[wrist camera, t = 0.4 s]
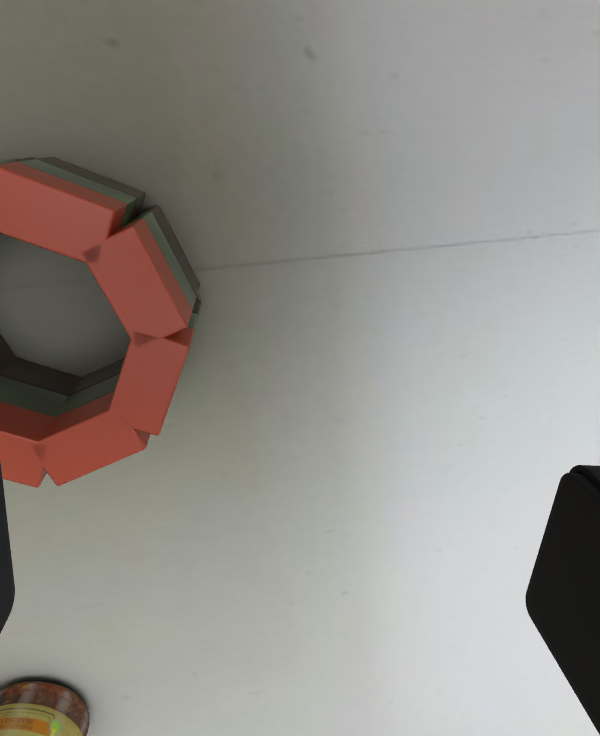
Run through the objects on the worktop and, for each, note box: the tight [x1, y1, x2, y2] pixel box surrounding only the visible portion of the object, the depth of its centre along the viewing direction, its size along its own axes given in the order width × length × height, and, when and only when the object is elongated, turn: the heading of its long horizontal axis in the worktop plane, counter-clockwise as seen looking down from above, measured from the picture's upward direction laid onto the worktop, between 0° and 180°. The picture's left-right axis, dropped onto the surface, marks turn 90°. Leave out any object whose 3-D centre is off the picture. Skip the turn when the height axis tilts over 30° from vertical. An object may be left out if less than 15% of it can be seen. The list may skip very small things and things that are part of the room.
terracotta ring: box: [0, 162, 194, 487], centre depth 21 cm, size 11×11×2 cm
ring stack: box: [0, 157, 201, 417], centre depth 23 cm, size 11×11×4 cm
